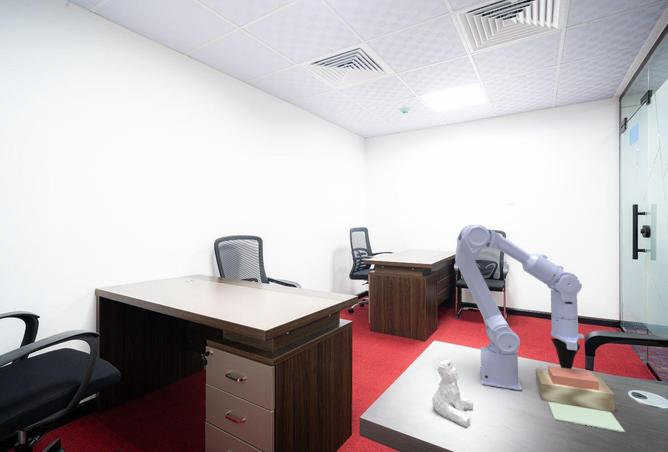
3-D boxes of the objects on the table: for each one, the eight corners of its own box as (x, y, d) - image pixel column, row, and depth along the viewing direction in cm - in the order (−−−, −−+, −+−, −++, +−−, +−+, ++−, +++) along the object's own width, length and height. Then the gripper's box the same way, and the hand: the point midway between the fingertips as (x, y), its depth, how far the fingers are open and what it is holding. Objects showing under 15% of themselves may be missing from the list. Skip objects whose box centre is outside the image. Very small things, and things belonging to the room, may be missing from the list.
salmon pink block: (553, 383, 79) (552, 375, 79) (548, 373, 84) (547, 365, 84) (599, 390, 75) (598, 381, 75) (590, 379, 81) (590, 371, 81)
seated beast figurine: (469, 429, 68) (468, 372, 68) (428, 419, 72) (426, 365, 72) (473, 407, 76) (472, 356, 77) (436, 399, 80) (434, 351, 81)
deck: (542, 400, 79) (541, 383, 79) (536, 384, 87) (535, 369, 87) (614, 412, 73) (614, 394, 73) (600, 393, 81) (600, 377, 81)
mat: (554, 419, 71) (554, 418, 71) (548, 403, 78) (548, 401, 78) (624, 432, 66) (624, 431, 66) (610, 413, 73) (610, 412, 73)
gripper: (591, 325, 77) (593, 382, 77) (574, 311, 90) (576, 360, 90) (556, 322, 80) (558, 378, 80) (545, 309, 93) (546, 356, 93)
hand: (565, 368), depth 85 cm, fingers closed
